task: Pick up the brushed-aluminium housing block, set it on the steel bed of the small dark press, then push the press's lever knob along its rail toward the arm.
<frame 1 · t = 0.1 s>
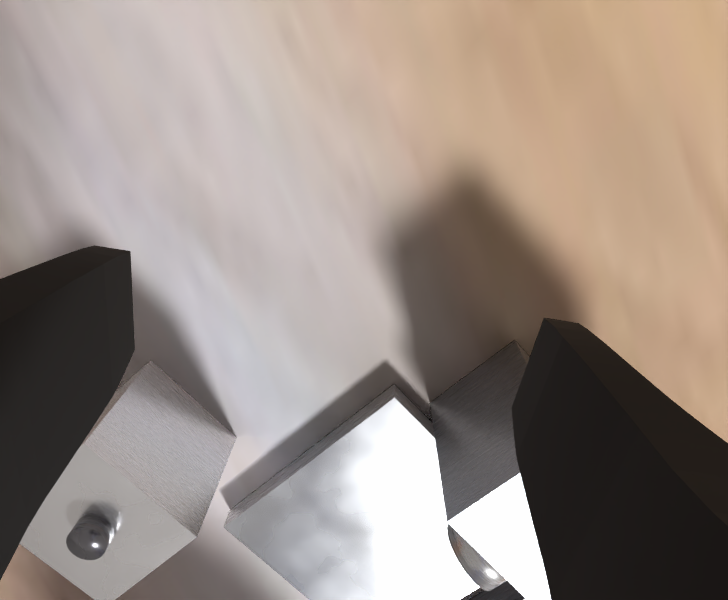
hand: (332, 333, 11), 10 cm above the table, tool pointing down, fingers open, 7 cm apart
press: (382, 520, 25), on the table
housing: (156, 431, 24), on the table
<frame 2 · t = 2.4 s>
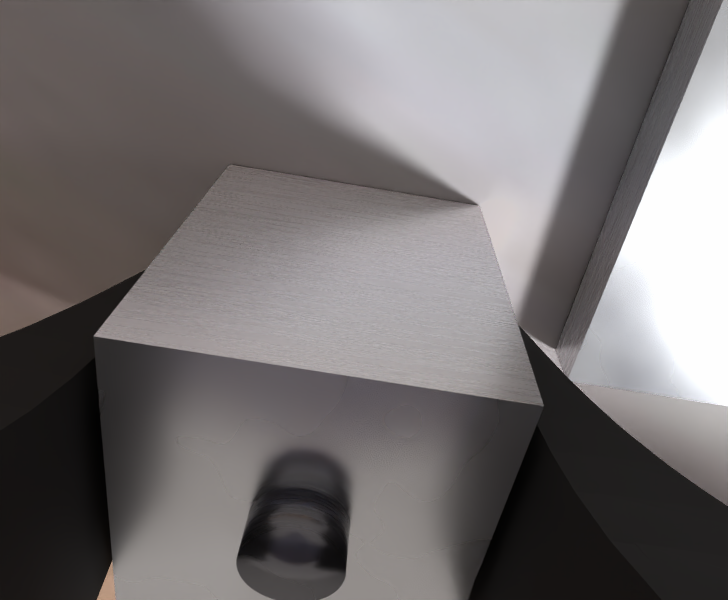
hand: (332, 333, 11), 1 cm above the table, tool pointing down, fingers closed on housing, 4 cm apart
housing: (338, 293, 12), on the table, touching gripper
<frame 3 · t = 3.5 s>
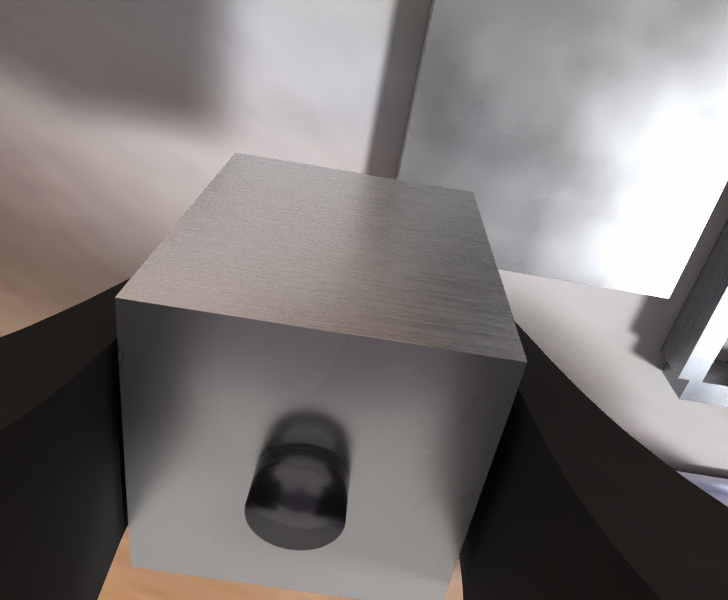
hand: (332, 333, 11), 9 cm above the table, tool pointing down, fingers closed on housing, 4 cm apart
press: (569, 120, 17), on the table
housing: (339, 277, 12), point 7 cm above the table, touching gripper
when the fingers open (3 cm above the table, at t = 4.9 s): housing stays where it is, resting on press.
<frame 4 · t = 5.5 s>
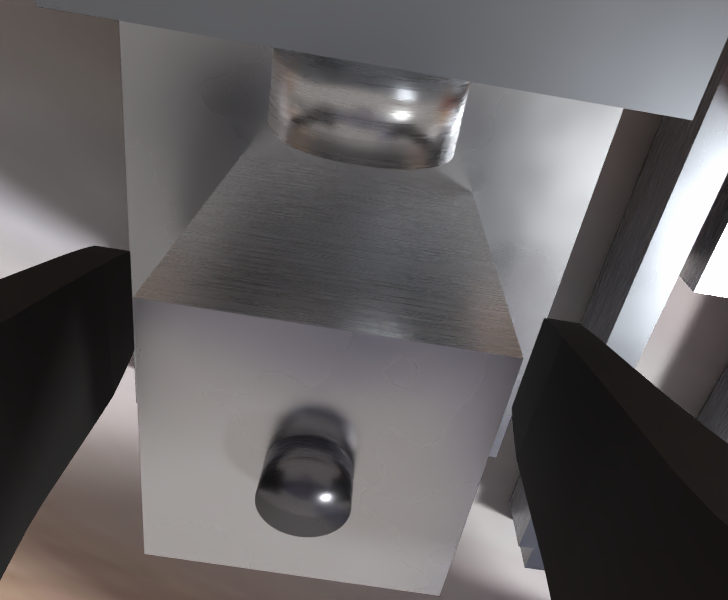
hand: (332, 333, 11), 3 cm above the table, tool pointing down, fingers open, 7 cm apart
press: (346, 250, 14), on the table
housing: (342, 276, 13), point 1 cm above the table, touching press
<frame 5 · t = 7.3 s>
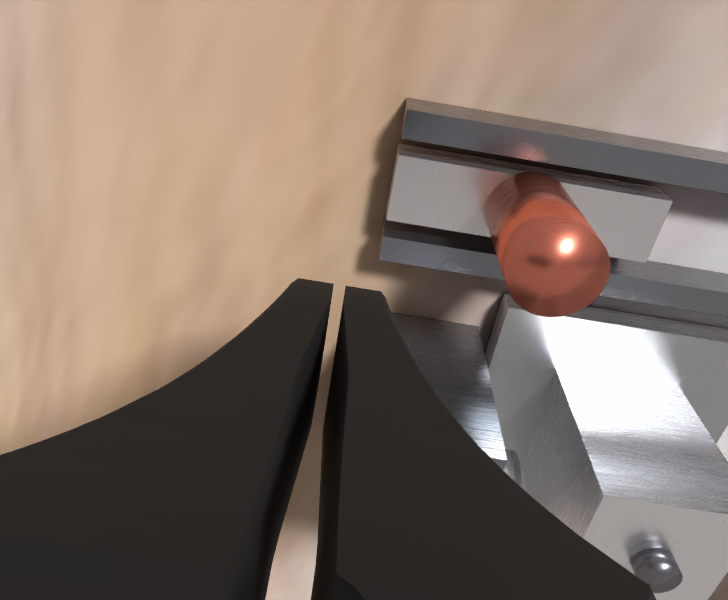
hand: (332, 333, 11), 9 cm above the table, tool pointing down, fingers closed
press: (587, 412, 23), on the table
lever: (536, 229, 17), point 3 cm above the table, slide at 0.0 cm
housing: (598, 430, 22), point 1 cm above the table, touching press
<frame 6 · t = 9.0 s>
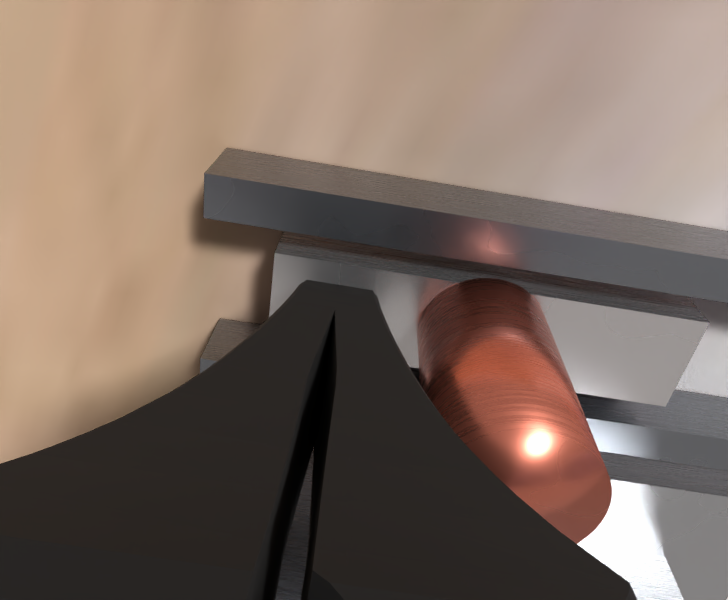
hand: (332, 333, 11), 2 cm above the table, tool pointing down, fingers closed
press: (535, 565, 17), on the table
lever: (491, 379, 10), point 3 cm above the table, slide at 1.3 cm, touching gripper
housing: (547, 599, 16), point 1 cm above the table, touching press
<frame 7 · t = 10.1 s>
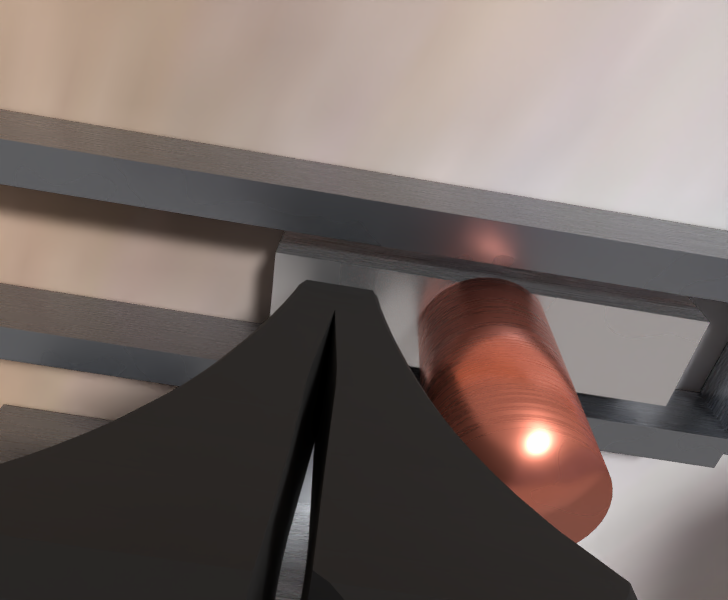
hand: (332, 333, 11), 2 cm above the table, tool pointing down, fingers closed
press: (350, 538, 17), on the table
lever: (491, 379, 10), point 3 cm above the table, slide at 6.5 cm, touching gripper
housing: (352, 570, 16), point 1 cm above the table, touching press
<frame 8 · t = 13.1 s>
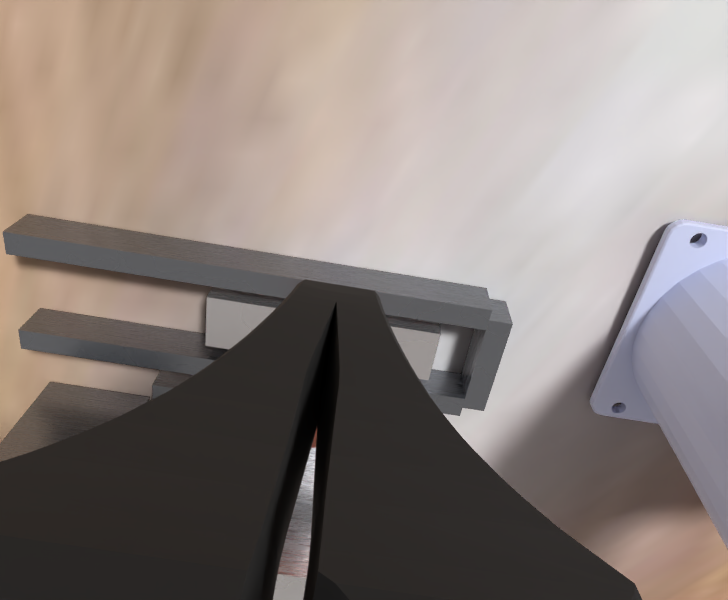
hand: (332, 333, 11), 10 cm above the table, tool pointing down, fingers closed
press: (266, 468, 26), on the table
lever: (316, 363, 20), point 3 cm above the table, slide at 6.6 cm
housing: (265, 486, 25), point 1 cm above the table, touching press
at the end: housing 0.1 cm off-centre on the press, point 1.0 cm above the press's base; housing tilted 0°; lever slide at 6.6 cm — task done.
